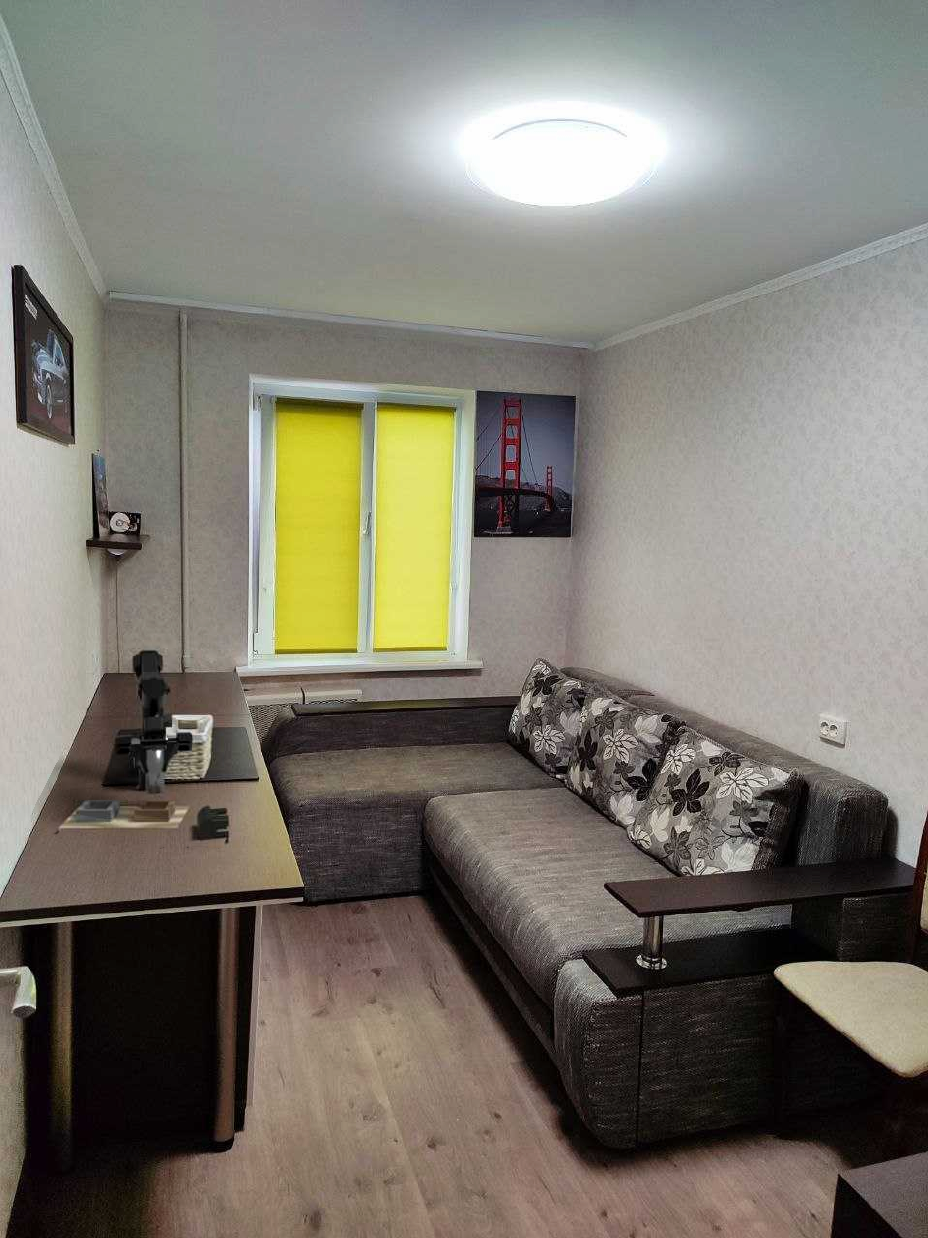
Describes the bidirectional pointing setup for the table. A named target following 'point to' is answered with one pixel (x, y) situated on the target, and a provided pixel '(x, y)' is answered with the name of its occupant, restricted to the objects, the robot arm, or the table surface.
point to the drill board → (126, 815)
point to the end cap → (212, 823)
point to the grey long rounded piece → (154, 770)
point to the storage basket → (200, 755)
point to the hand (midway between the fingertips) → (155, 772)
